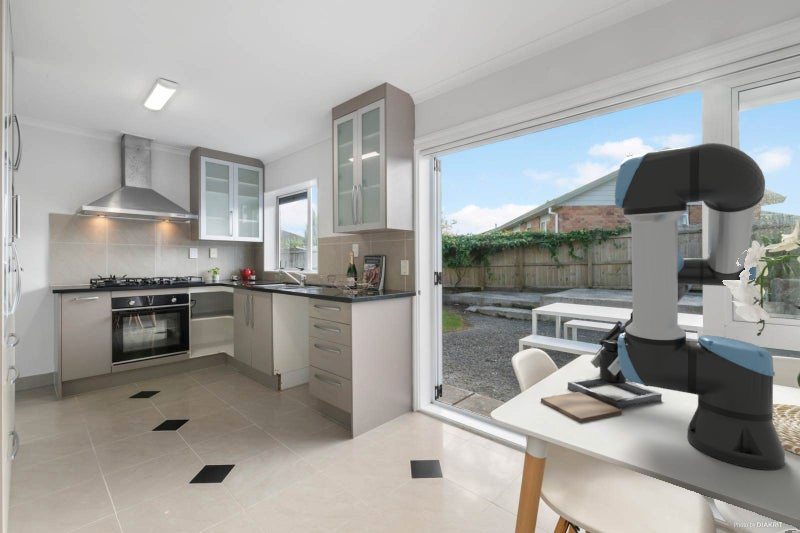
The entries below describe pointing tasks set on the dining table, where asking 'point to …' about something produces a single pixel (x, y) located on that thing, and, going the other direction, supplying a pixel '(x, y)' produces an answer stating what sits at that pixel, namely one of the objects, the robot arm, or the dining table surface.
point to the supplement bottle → (607, 359)
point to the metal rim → (645, 398)
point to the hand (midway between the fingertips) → (602, 368)
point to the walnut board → (581, 406)
